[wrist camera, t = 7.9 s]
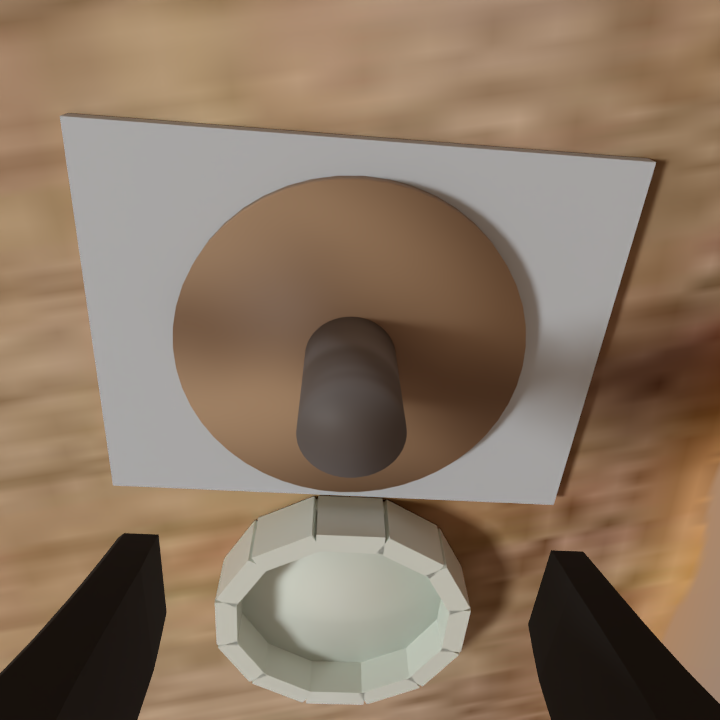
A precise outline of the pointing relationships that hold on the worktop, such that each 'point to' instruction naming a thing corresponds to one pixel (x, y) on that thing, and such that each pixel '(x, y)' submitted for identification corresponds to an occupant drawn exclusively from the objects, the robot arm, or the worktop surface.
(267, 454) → the walnut lid
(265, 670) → the celadon dish
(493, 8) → the worktop surface
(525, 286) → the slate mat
